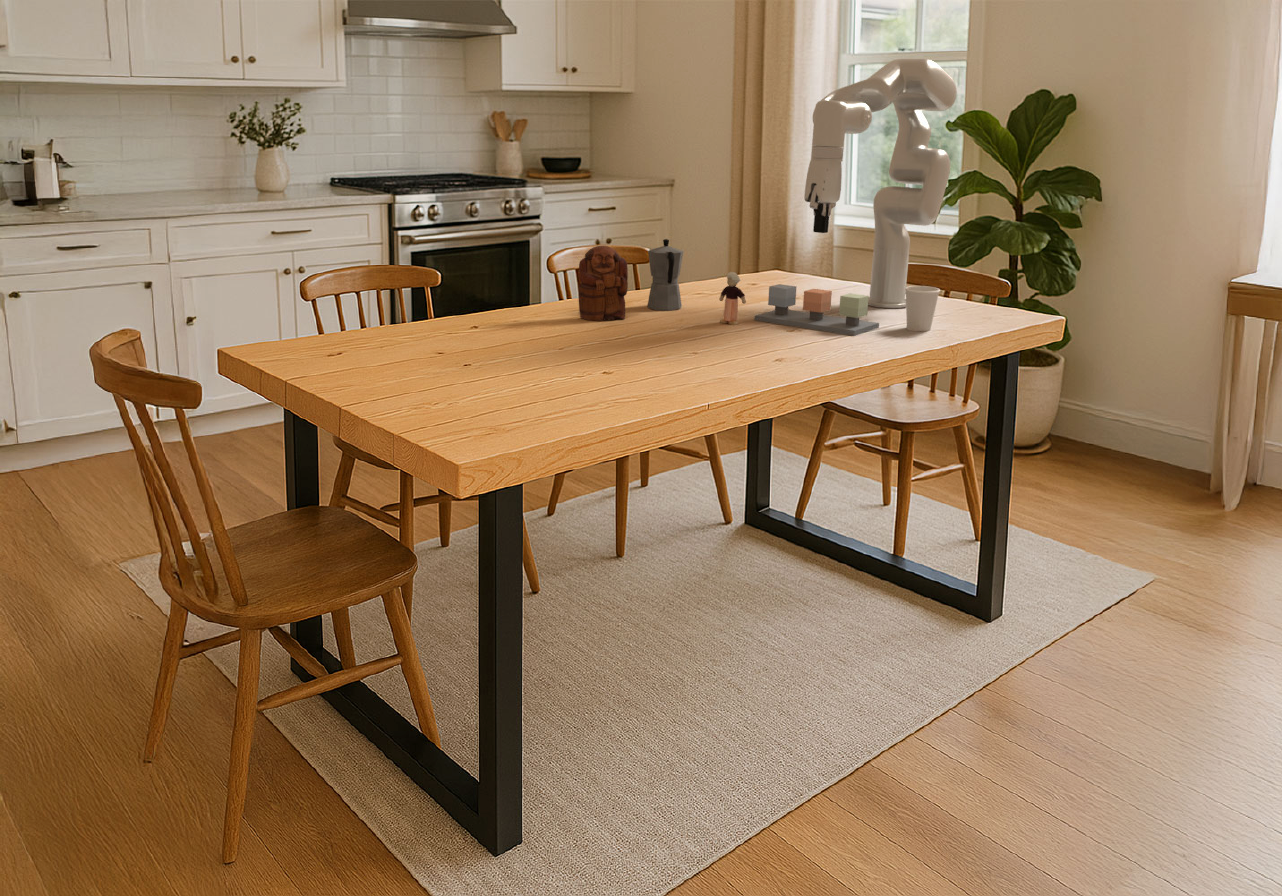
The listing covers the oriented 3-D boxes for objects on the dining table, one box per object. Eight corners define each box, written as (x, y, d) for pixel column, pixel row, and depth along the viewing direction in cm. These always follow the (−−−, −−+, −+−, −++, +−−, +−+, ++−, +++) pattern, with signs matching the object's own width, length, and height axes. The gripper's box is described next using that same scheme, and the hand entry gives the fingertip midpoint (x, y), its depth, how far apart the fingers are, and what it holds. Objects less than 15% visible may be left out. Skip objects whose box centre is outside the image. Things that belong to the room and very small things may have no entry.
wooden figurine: (583, 322, 268) (583, 248, 262) (577, 317, 273) (577, 245, 268) (629, 320, 271) (630, 247, 266) (622, 315, 277) (623, 244, 271)
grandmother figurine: (713, 322, 270) (715, 271, 266) (719, 320, 273) (722, 269, 269) (742, 326, 266) (744, 274, 262) (748, 323, 269) (750, 272, 266)
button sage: (848, 312, 267) (850, 293, 266) (867, 315, 264) (868, 295, 263) (838, 315, 264) (840, 296, 262) (857, 318, 261) (859, 298, 259)
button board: (780, 313, 284) (781, 300, 283) (878, 327, 268) (880, 314, 267) (754, 320, 274) (754, 306, 273) (854, 335, 258) (855, 321, 257)
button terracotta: (812, 307, 273) (813, 288, 272) (830, 309, 270) (831, 291, 269) (802, 310, 269) (804, 291, 268) (820, 312, 266) (822, 293, 265)
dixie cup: (937, 333, 263) (941, 292, 259) (901, 331, 264) (905, 290, 261) (935, 326, 270) (939, 286, 267) (900, 324, 272) (904, 284, 269)
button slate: (778, 302, 279) (779, 284, 277) (795, 304, 276) (796, 286, 275) (768, 305, 275) (769, 286, 274) (785, 307, 272) (786, 288, 271)
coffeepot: (642, 303, 294) (644, 236, 288) (677, 303, 295) (679, 236, 290) (652, 314, 279) (654, 243, 274) (688, 313, 281) (690, 243, 275)
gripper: (828, 154, 268) (822, 229, 273) (797, 153, 256) (791, 232, 262) (855, 155, 263) (848, 232, 268) (825, 155, 252) (818, 235, 257)
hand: (820, 232), depth 265 cm, fingers closed
